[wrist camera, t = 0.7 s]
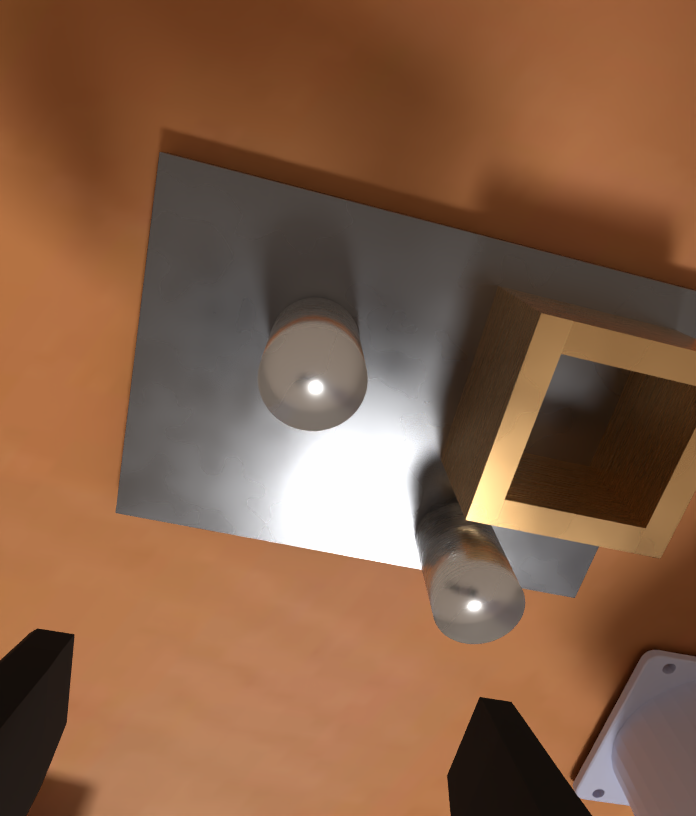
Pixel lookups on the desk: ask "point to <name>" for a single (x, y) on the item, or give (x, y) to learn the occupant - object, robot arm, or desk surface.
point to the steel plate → (384, 357)
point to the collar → (619, 447)
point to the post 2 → (467, 577)
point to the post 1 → (313, 366)
